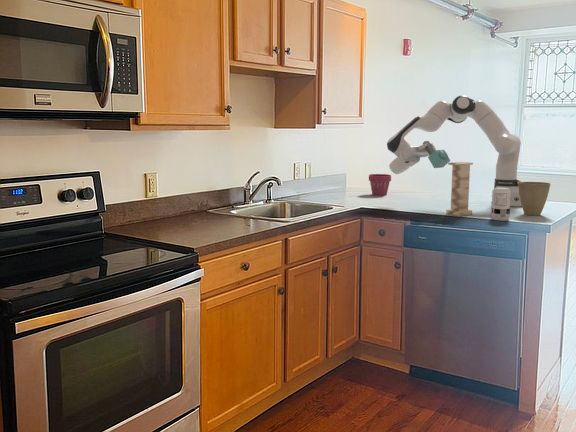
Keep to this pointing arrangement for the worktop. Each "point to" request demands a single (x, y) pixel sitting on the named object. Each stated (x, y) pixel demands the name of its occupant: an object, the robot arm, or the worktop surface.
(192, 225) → the worktop surface
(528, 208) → the plant pot
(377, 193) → the plant pot
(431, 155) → the teal cap handle
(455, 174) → the birch stand
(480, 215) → the worktop surface
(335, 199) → the worktop surface
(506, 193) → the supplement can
